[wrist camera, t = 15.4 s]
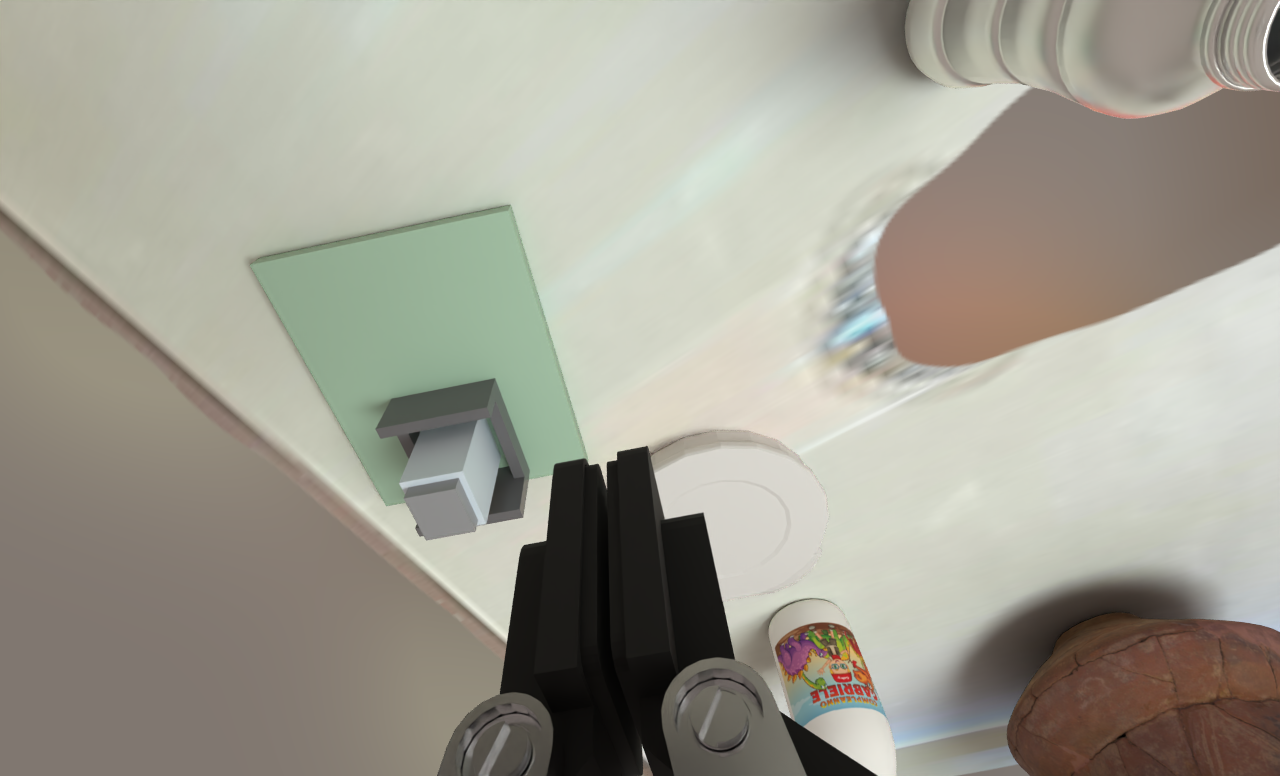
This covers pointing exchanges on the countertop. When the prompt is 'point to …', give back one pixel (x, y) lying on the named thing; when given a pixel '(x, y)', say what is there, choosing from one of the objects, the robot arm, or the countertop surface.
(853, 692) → the milk bottle
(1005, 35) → the plastic bottle
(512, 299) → the board
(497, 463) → the plug
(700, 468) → the lid
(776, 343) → the countertop surface
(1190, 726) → the pottery vessel
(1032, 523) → the countertop surface
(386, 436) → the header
